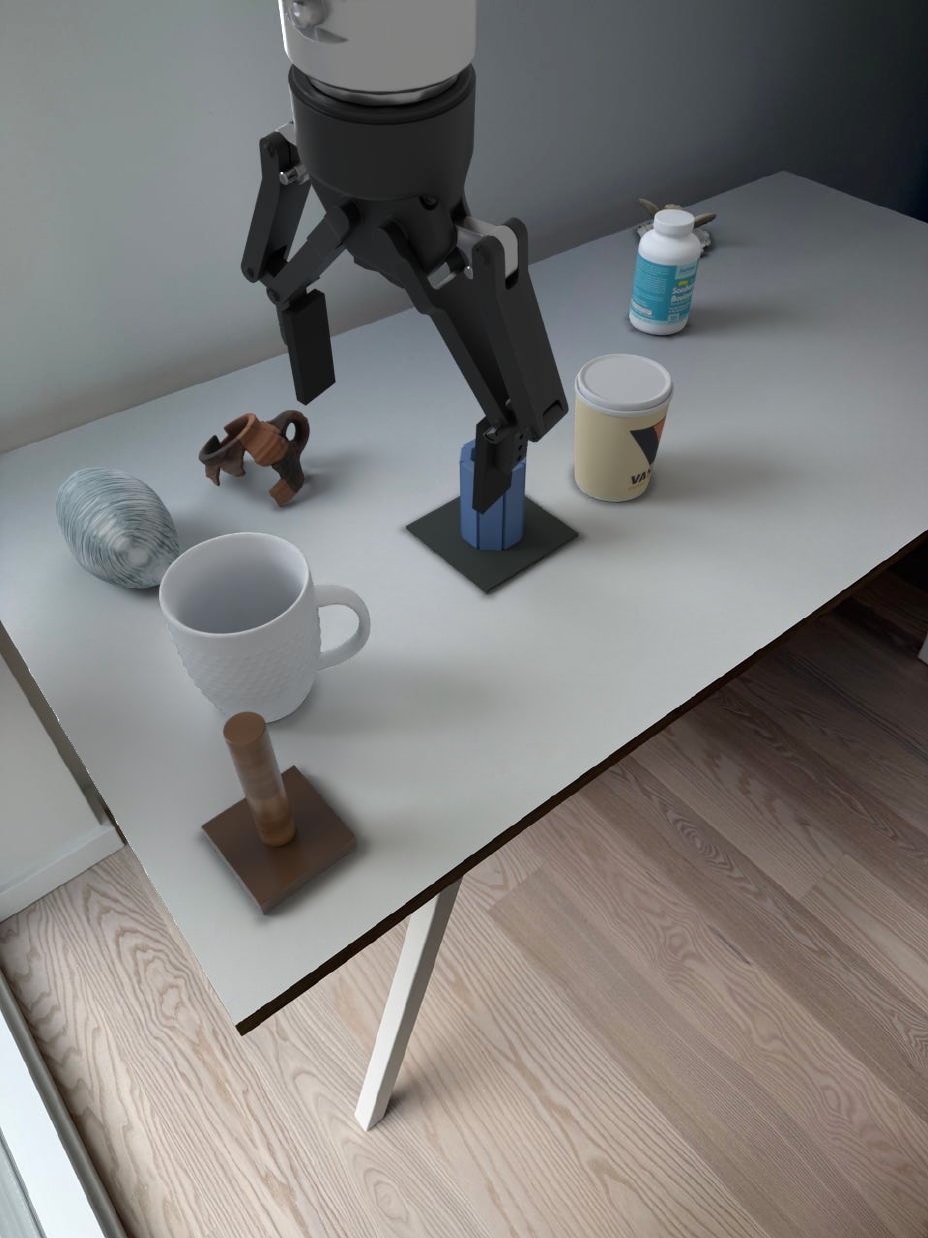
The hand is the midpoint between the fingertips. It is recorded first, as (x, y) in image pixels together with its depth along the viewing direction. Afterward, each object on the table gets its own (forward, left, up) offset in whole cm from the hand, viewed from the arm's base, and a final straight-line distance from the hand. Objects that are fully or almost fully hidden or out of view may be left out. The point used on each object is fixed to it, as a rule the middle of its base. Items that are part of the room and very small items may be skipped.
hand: (400, 442), depth 53 cm
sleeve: (-13, +19, -26) cm, 35 cm away
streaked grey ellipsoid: (-33, -10, -27) cm, 44 cm away
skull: (-43, +82, -27) cm, 96 cm away
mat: (-13, +19, -27) cm, 35 cm away
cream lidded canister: (-11, +34, -27) cm, 45 cm away
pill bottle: (-29, +62, -27) cm, 74 cm away
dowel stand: (+2, -15, -27) cm, 31 cm away
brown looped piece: (-35, +7, -27) cm, 44 cm away
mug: (-10, -7, -27) cm, 30 cm away
